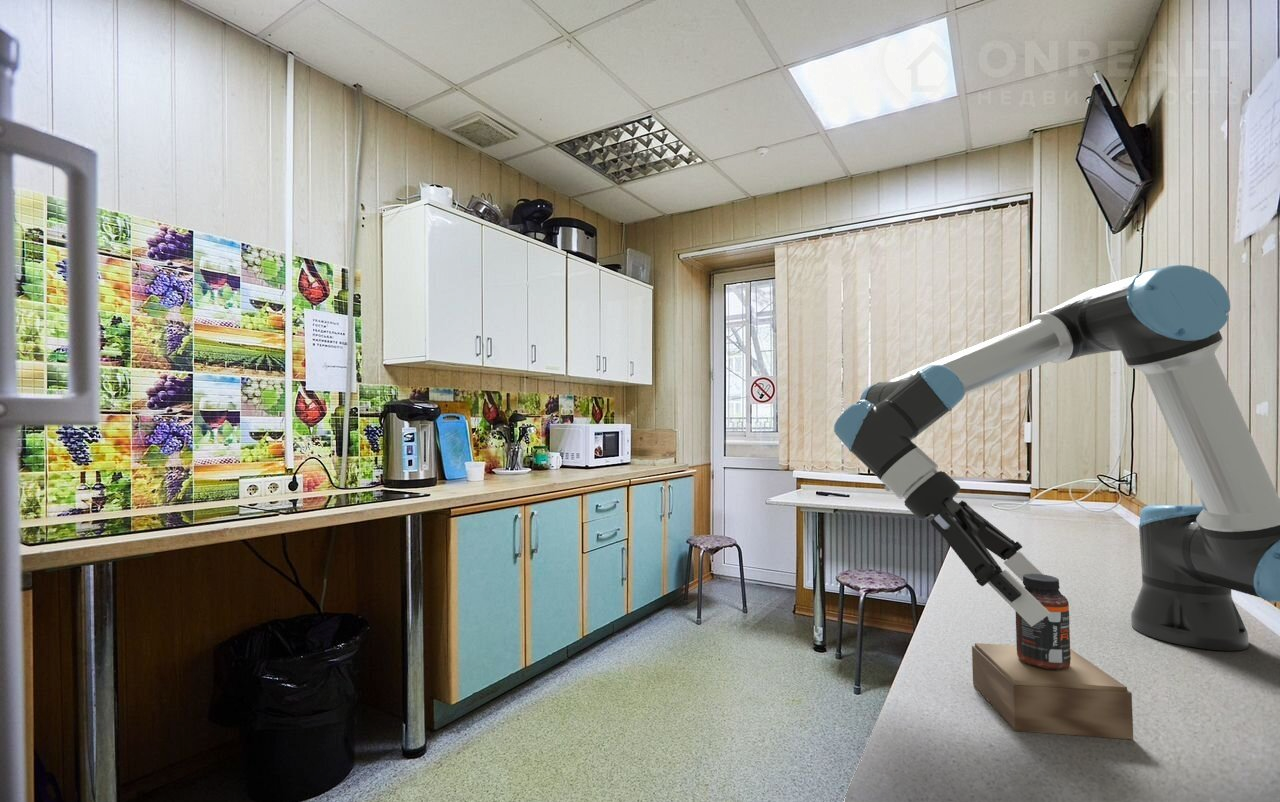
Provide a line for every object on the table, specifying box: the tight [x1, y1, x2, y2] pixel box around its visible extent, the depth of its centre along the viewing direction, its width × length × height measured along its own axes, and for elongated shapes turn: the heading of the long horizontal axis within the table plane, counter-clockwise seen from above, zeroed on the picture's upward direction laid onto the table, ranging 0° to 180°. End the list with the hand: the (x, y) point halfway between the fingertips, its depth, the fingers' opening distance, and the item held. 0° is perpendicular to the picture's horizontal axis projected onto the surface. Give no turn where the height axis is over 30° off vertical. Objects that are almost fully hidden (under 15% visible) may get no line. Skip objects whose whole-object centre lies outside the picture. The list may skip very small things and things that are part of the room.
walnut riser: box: [971, 642, 1134, 740], centre depth 77 cm, size 13×13×6 cm
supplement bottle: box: [1015, 573, 1071, 670], centre depth 78 cm, size 6×6×11 cm
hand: (1046, 606), depth 77 cm, fingers open, 13 cm apart
